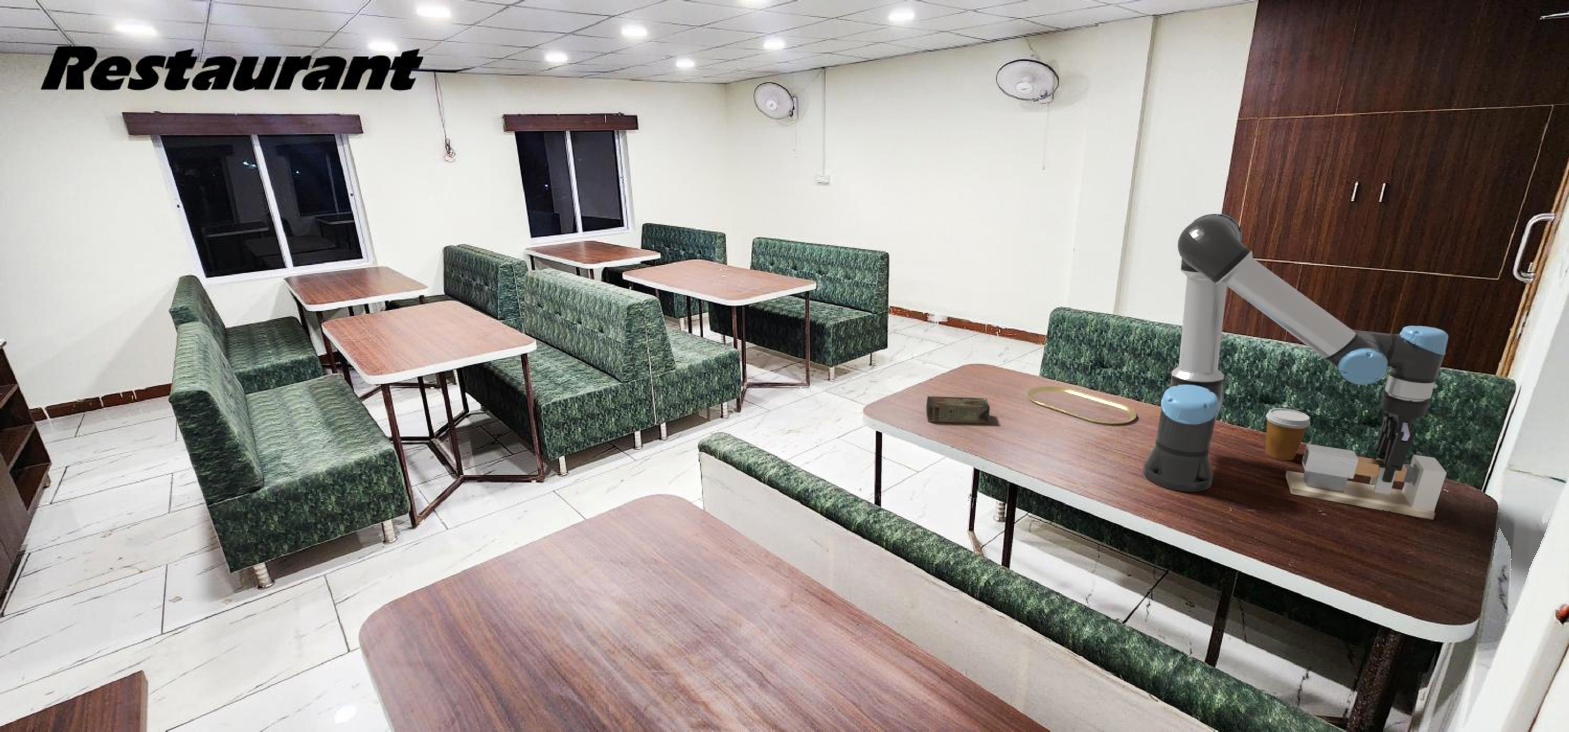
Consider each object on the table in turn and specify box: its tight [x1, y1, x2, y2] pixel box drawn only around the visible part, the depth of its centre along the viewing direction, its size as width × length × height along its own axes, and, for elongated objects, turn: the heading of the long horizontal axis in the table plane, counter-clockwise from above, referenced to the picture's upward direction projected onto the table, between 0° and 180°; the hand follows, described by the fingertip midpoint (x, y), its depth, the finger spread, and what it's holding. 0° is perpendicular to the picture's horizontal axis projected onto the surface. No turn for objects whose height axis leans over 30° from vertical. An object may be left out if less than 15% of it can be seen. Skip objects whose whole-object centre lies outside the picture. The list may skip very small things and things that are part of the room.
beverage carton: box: [925, 395, 991, 424], centre depth 205 cm, size 8×19×7 cm, turn 82°
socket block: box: [1401, 454, 1447, 513], centre depth 147 cm, size 4×8×10 cm, turn 150°
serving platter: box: [1026, 385, 1137, 426], centre depth 212 cm, size 19×35×2 cm, turn 35°
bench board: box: [1285, 470, 1436, 520], centre depth 154 cm, size 26×10×2 cm, turn 60°
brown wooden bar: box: [1354, 456, 1414, 483], centre depth 151 cm, size 15×3×3 cm, turn 60°
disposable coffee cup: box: [1264, 407, 1311, 461], centre depth 173 cm, size 10×10×12 cm
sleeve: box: [1301, 443, 1358, 493], centre depth 155 cm, size 9×5×9 cm, turn 60°
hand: (1379, 488), depth 151 cm, fingers closed on brown wooden bar, 3 cm apart
